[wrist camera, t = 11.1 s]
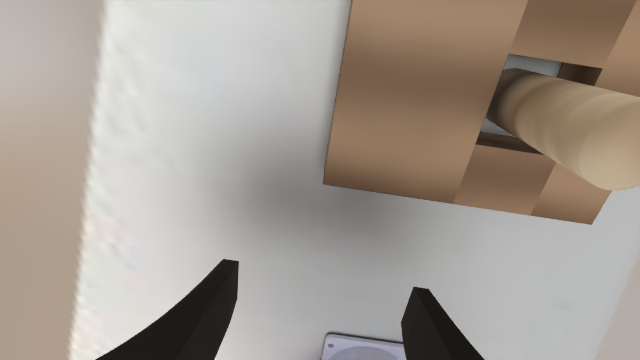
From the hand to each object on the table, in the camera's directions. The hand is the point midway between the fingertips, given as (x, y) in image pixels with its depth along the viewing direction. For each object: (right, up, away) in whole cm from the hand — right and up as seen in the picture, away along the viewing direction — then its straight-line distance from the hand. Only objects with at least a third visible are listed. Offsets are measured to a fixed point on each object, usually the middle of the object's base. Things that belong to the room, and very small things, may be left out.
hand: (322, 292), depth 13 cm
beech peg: (+11, +10, +6) cm, 16 cm away
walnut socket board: (+9, +10, +6) cm, 15 cm away
